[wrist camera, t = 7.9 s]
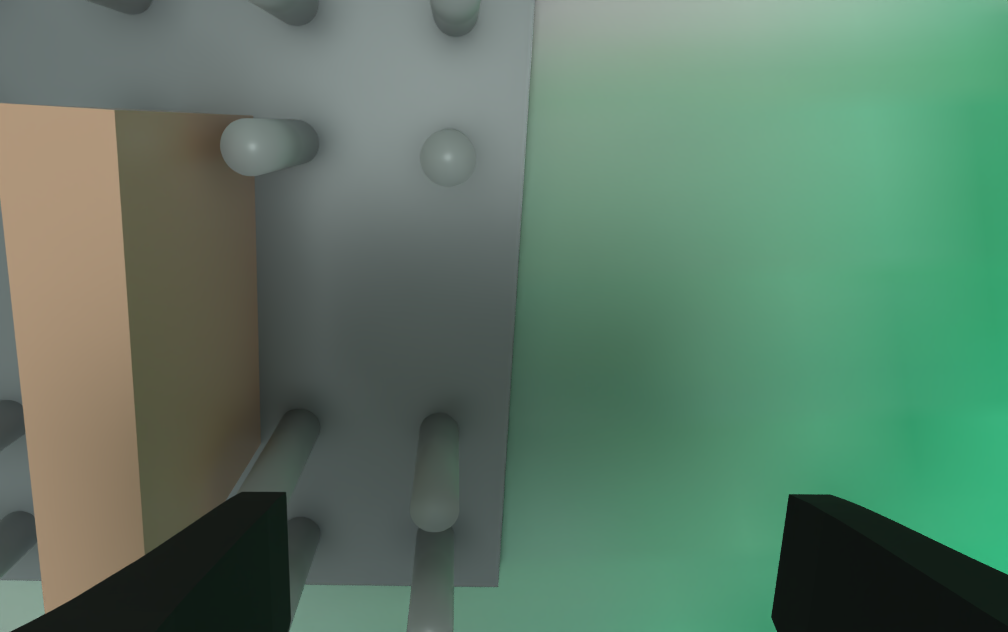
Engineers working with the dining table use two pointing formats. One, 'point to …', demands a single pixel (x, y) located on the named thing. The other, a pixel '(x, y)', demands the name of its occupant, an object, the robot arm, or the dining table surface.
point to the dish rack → (333, 257)
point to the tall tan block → (128, 327)
